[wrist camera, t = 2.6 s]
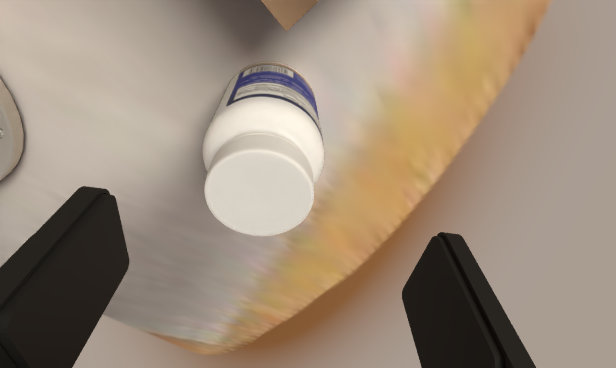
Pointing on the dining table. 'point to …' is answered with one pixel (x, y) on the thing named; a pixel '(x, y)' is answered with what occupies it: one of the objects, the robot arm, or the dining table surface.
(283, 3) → the well
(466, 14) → the dining table surface
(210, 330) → the dining table surface
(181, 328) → the dining table surface
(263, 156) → the pill bottle
